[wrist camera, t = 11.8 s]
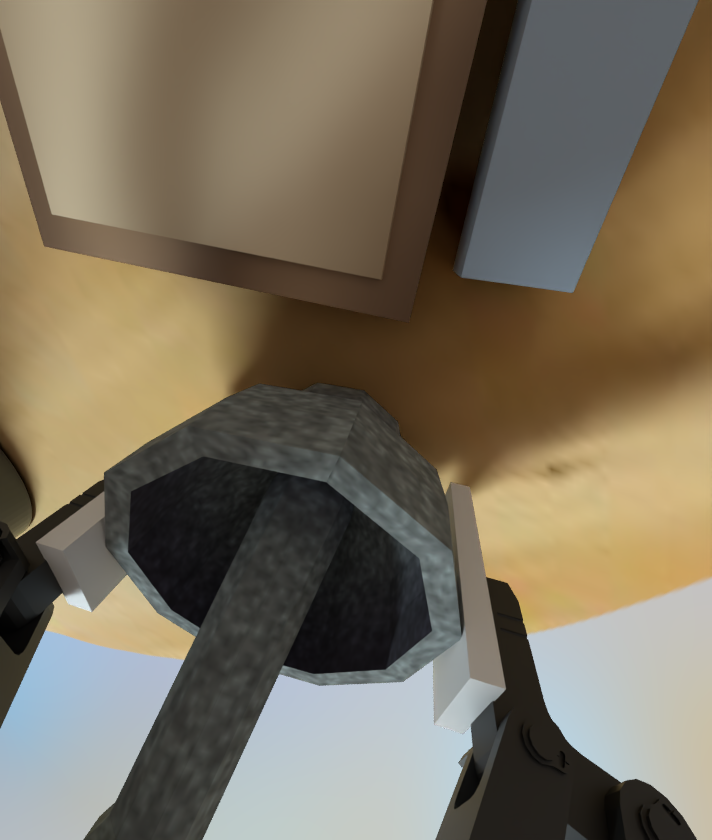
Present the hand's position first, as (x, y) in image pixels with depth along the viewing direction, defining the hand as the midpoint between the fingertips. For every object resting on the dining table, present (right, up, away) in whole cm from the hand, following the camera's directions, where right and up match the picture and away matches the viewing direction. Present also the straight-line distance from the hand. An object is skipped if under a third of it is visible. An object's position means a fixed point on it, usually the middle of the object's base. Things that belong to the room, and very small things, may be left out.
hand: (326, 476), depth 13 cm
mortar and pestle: (0, +1, +1) cm, 1 cm away
